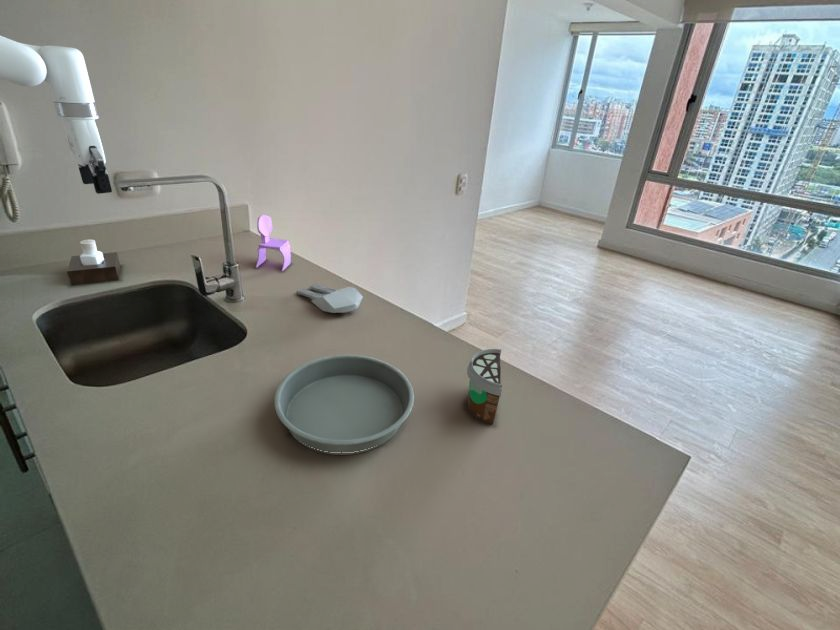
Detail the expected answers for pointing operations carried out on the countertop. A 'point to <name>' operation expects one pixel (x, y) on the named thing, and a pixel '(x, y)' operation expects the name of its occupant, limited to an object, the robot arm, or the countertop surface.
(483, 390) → the food container
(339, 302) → the turret
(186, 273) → the countertop surface
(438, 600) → the countertop surface
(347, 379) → the cake pan
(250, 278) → the countertop surface
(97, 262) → the pepper shaker
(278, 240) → the toy chair
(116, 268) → the holder
